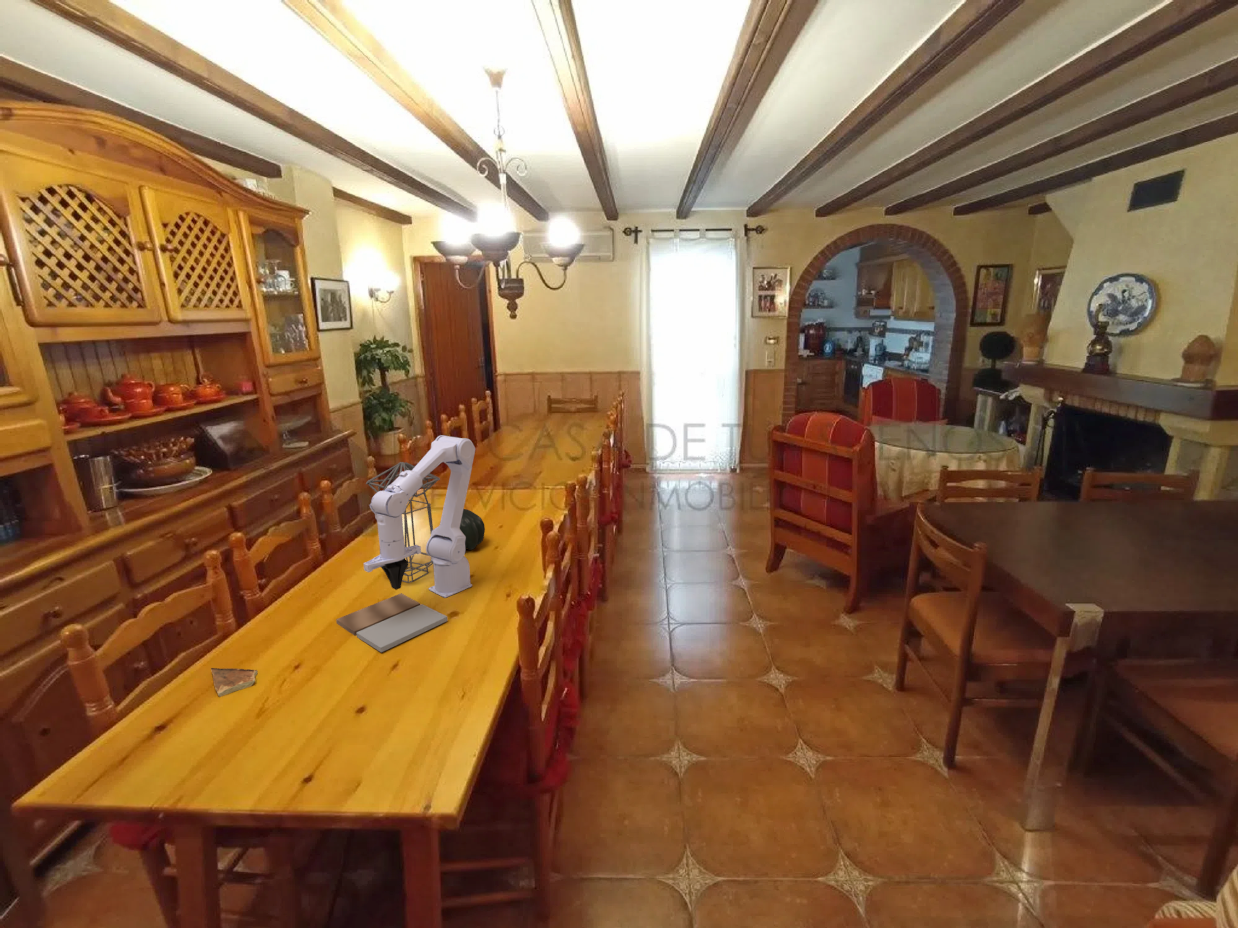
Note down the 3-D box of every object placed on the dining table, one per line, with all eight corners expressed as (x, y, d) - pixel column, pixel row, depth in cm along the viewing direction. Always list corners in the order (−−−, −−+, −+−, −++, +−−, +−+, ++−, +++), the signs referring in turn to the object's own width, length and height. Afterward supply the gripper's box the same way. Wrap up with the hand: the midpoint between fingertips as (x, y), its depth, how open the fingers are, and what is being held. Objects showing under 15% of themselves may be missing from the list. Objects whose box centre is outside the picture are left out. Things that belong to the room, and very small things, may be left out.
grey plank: (422, 608, 148) (422, 603, 148) (447, 620, 141) (447, 616, 141) (356, 636, 134) (356, 632, 134) (381, 652, 127) (380, 647, 127)
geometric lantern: (370, 579, 164) (360, 464, 156) (412, 561, 178) (404, 454, 170) (408, 591, 157) (399, 471, 149) (449, 571, 170) (442, 460, 163)
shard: (212, 673, 120) (210, 666, 120) (253, 661, 125) (252, 654, 125) (217, 699, 112) (215, 692, 112) (261, 685, 117) (260, 677, 117)
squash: (498, 525, 194) (468, 493, 191) (484, 543, 179) (451, 509, 177) (470, 548, 197) (441, 517, 195) (454, 567, 183) (422, 534, 181)
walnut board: (401, 596, 154) (401, 593, 154) (420, 607, 149) (420, 603, 148) (336, 623, 140) (336, 619, 140) (354, 635, 135) (354, 631, 134)
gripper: (408, 526, 146) (412, 573, 149) (354, 543, 134) (360, 593, 138) (424, 532, 141) (428, 580, 145) (370, 550, 130) (376, 602, 134)
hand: (396, 587), depth 141 cm, fingers closed
